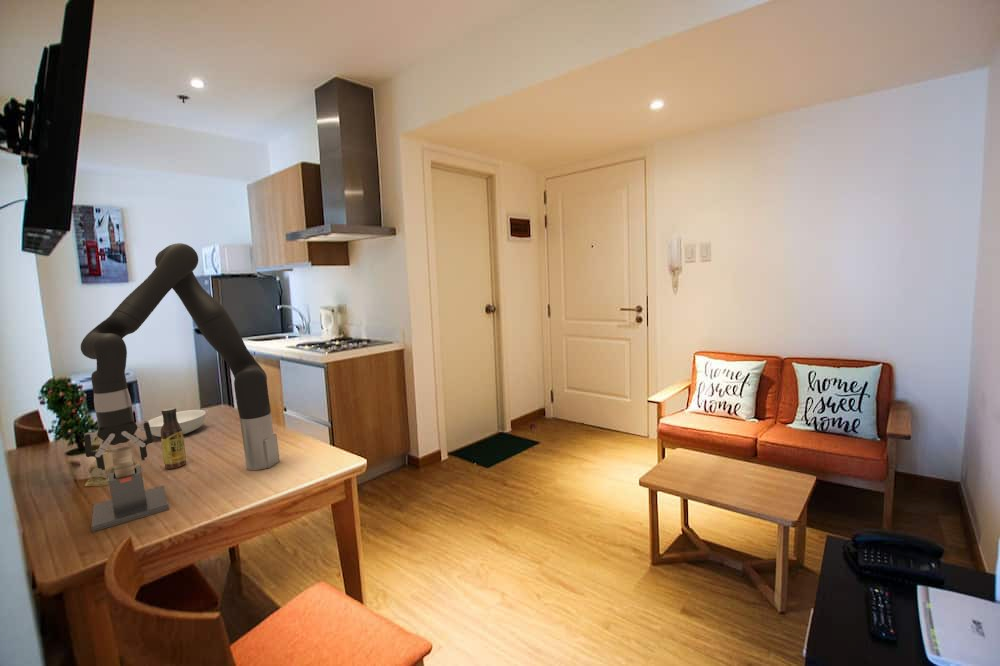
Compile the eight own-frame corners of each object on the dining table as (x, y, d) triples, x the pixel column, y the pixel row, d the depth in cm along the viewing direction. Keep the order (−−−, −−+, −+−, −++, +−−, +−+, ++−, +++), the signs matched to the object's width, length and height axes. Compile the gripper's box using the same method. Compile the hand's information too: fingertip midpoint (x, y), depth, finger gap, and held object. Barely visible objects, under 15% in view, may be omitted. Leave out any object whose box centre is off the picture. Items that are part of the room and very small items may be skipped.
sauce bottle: (175, 470, 156) (166, 412, 153) (160, 469, 157) (150, 412, 155) (192, 462, 163) (183, 406, 160) (176, 461, 164) (168, 406, 161)
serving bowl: (166, 427, 205) (163, 412, 204) (217, 423, 207) (214, 407, 206) (135, 444, 184) (132, 427, 183) (191, 439, 186) (189, 423, 185)
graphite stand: (164, 490, 141) (158, 456, 140) (168, 509, 129) (163, 473, 128) (94, 509, 131) (88, 473, 130) (92, 532, 119) (85, 493, 118)
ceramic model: (105, 488, 145) (99, 457, 144) (77, 486, 148) (71, 456, 146) (148, 469, 159) (143, 440, 158) (121, 467, 161) (116, 439, 160)
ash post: (139, 498, 133) (130, 444, 131) (140, 503, 130) (130, 448, 128) (120, 503, 130) (111, 449, 128) (121, 509, 127) (111, 453, 125)
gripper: (145, 398, 134) (154, 453, 136) (79, 410, 125) (89, 468, 127) (147, 403, 128) (156, 460, 130) (77, 416, 119) (88, 476, 121)
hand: (123, 464), depth 128 cm, fingers open, 8 cm apart
